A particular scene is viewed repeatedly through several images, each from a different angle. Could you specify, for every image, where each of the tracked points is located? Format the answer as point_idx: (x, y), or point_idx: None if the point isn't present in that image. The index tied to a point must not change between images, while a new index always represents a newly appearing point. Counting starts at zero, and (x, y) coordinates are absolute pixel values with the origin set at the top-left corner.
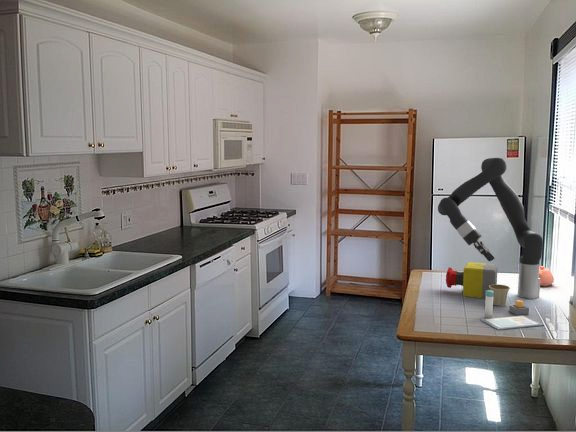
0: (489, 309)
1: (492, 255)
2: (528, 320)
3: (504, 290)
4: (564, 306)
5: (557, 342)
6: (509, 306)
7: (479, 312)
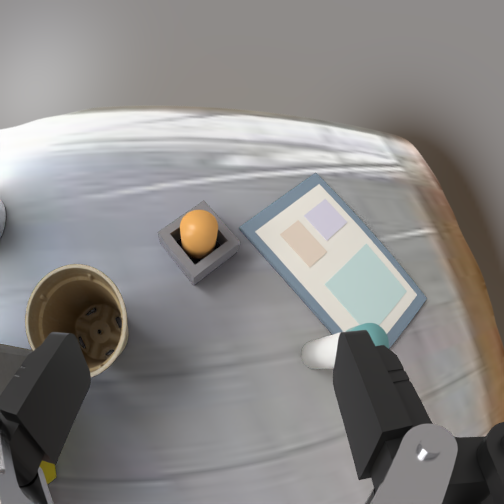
0: None
1: (37, 360)
2: (300, 212)
3: (115, 292)
4: (75, 122)
5: (415, 161)
6: (195, 278)
7: (267, 399)
